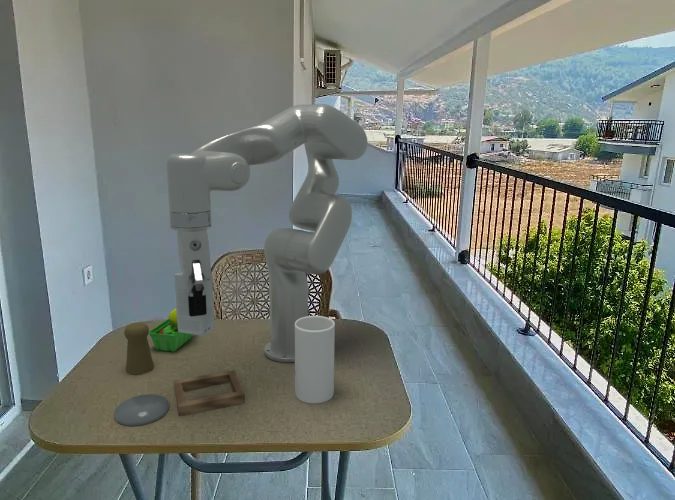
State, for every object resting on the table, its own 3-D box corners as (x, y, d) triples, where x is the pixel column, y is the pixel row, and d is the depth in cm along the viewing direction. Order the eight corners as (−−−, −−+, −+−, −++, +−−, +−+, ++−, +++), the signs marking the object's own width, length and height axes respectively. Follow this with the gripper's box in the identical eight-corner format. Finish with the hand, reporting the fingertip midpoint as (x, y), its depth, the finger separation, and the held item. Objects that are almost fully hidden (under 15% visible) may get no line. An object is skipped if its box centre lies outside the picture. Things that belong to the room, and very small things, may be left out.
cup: (306, 407, 98) (306, 334, 94) (288, 389, 104) (287, 320, 100) (341, 396, 102) (342, 325, 98) (321, 379, 109) (321, 312, 105)
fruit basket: (172, 333, 132) (169, 294, 129) (202, 336, 130) (200, 297, 128) (148, 351, 121) (144, 309, 118) (180, 355, 119) (177, 312, 117)
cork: (144, 376, 109) (140, 330, 106) (120, 373, 110) (115, 328, 107) (159, 364, 115) (155, 320, 112) (136, 361, 116) (132, 318, 113)
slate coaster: (167, 393, 102) (166, 390, 102) (170, 419, 93) (170, 415, 93) (115, 403, 98) (114, 399, 98) (113, 430, 89) (113, 427, 89)
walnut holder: (234, 378, 109) (234, 370, 108) (245, 403, 99) (245, 394, 98) (174, 389, 104) (173, 380, 103) (178, 416, 94) (178, 407, 93)
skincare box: (215, 328, 98) (213, 271, 95) (203, 336, 94) (200, 277, 91) (189, 324, 100) (186, 268, 97) (176, 332, 96) (173, 274, 93)
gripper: (219, 226, 85) (222, 321, 89) (204, 212, 101) (207, 293, 105) (174, 229, 82) (180, 327, 86) (166, 213, 98) (171, 297, 102)
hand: (195, 308), depth 96 cm, fingers closed on skincare box, 7 cm apart
